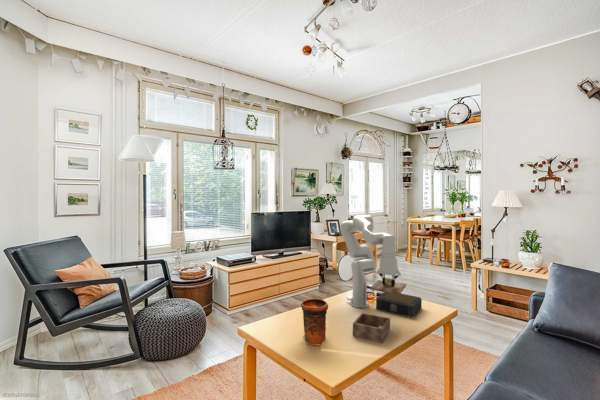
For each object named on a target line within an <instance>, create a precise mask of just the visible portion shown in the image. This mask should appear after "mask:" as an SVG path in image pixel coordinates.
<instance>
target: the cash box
mask: <svg viewBox="0 0 600 400" xmlns="http://www.w3.org/2000/svg"><path fill="white" fill-rule="evenodd" d="M422 301H423V300H422V298H421V297H420V296H416V295H410V294H406V293H401V294H397V293H390V292H384V291H383V292H382V293H381V294H380V295H378V296H377V297H376V299H375V307H376V310H379V311H383V312H387V313H391V314H395V315H399V314H400V316H403V315H405V316H404V317H407V316H409V317H408V318H415V317H416V315H418V313H419V312H420V311H421V310H422ZM420 309H421V310H420ZM419 310H420V311H419ZM414 316H415V317H414Z"/></svg>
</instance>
